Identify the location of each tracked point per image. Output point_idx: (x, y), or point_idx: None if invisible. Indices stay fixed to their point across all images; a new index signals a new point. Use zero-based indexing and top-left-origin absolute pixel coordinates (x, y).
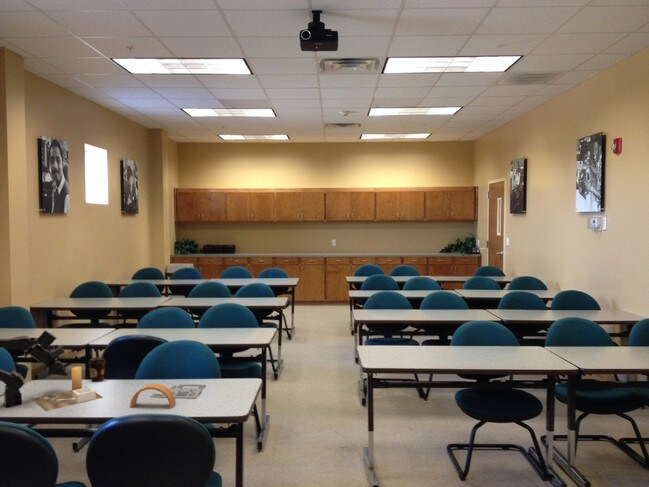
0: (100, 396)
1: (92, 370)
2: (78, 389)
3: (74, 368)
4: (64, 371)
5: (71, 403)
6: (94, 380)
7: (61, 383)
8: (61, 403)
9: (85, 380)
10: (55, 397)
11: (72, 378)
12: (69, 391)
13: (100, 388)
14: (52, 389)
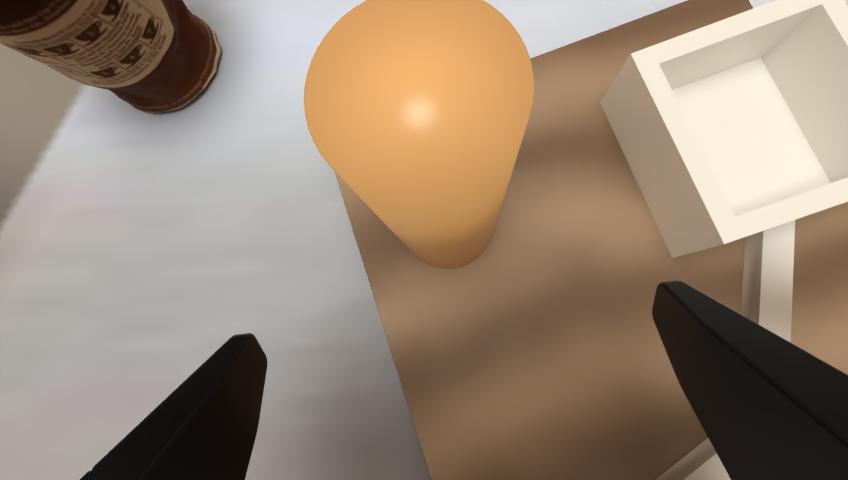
0: (694, 6)
1: (100, 7)
2: (692, 172)
3: (472, 127)
4: (821, 374)
5: (841, 263)
6: (184, 69)
7: (32, 379)
8: None
9: (61, 166)
10: (551, 434)
11: (475, 230)
12: (396, 294)
13: None
14: None
